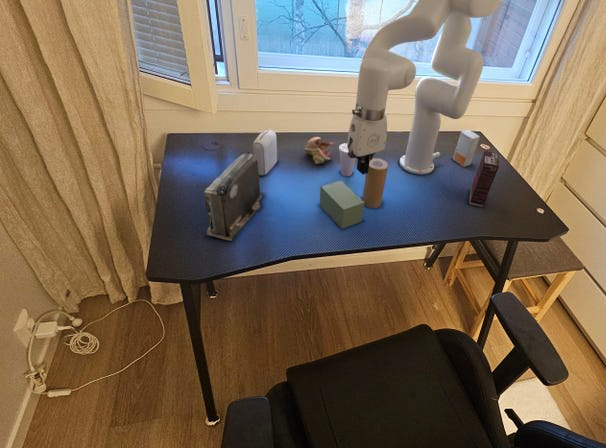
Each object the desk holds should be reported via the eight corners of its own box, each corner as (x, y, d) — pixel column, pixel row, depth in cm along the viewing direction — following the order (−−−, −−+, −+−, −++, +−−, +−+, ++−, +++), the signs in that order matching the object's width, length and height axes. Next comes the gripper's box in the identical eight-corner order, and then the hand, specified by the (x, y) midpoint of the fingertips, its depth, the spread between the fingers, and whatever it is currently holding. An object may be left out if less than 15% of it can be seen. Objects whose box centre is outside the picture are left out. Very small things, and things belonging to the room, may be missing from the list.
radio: (248, 187, 119) (244, 144, 110) (274, 195, 118) (272, 152, 109) (199, 234, 102) (189, 187, 92) (229, 244, 101) (223, 197, 91)
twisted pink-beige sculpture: (332, 169, 134) (313, 154, 127) (311, 171, 140) (292, 156, 133) (340, 146, 137) (322, 130, 130) (319, 148, 143) (301, 133, 136)
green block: (339, 199, 122) (340, 180, 117) (361, 221, 115) (364, 202, 111) (319, 205, 118) (320, 186, 113) (341, 229, 111) (343, 209, 107)
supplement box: (483, 207, 129) (499, 166, 119) (468, 204, 129) (483, 163, 119) (483, 193, 136) (498, 153, 126) (469, 190, 136) (483, 149, 126)
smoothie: (352, 180, 130) (357, 142, 121) (334, 175, 131) (337, 137, 122) (358, 170, 135) (362, 133, 126) (340, 166, 136) (343, 129, 127)
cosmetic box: (452, 159, 150) (460, 131, 143) (459, 157, 153) (468, 128, 145) (463, 167, 147) (473, 138, 140) (471, 164, 150) (480, 136, 142)
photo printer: (266, 158, 133) (265, 124, 125) (278, 161, 132) (277, 127, 124) (252, 174, 125) (249, 139, 117) (265, 177, 124) (263, 142, 117)
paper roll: (367, 203, 127) (393, 164, 124) (378, 213, 123) (406, 174, 120) (341, 193, 116) (370, 151, 113) (353, 204, 113) (382, 161, 110)
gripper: (354, 122, 94) (347, 185, 106) (401, 112, 102) (390, 171, 114) (337, 109, 98) (332, 171, 110) (384, 100, 106) (375, 159, 118)
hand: (362, 171), depth 112 cm, fingers closed
